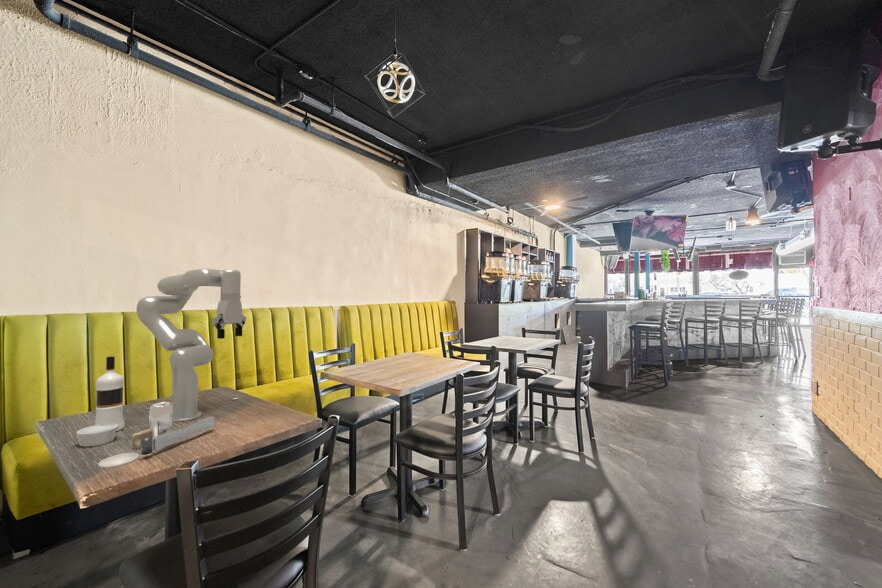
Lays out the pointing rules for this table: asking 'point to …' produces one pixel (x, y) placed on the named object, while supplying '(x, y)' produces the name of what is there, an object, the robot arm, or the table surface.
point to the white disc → (118, 460)
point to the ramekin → (96, 434)
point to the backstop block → (138, 436)
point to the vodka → (110, 396)
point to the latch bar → (175, 435)
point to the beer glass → (160, 418)
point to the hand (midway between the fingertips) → (230, 337)
